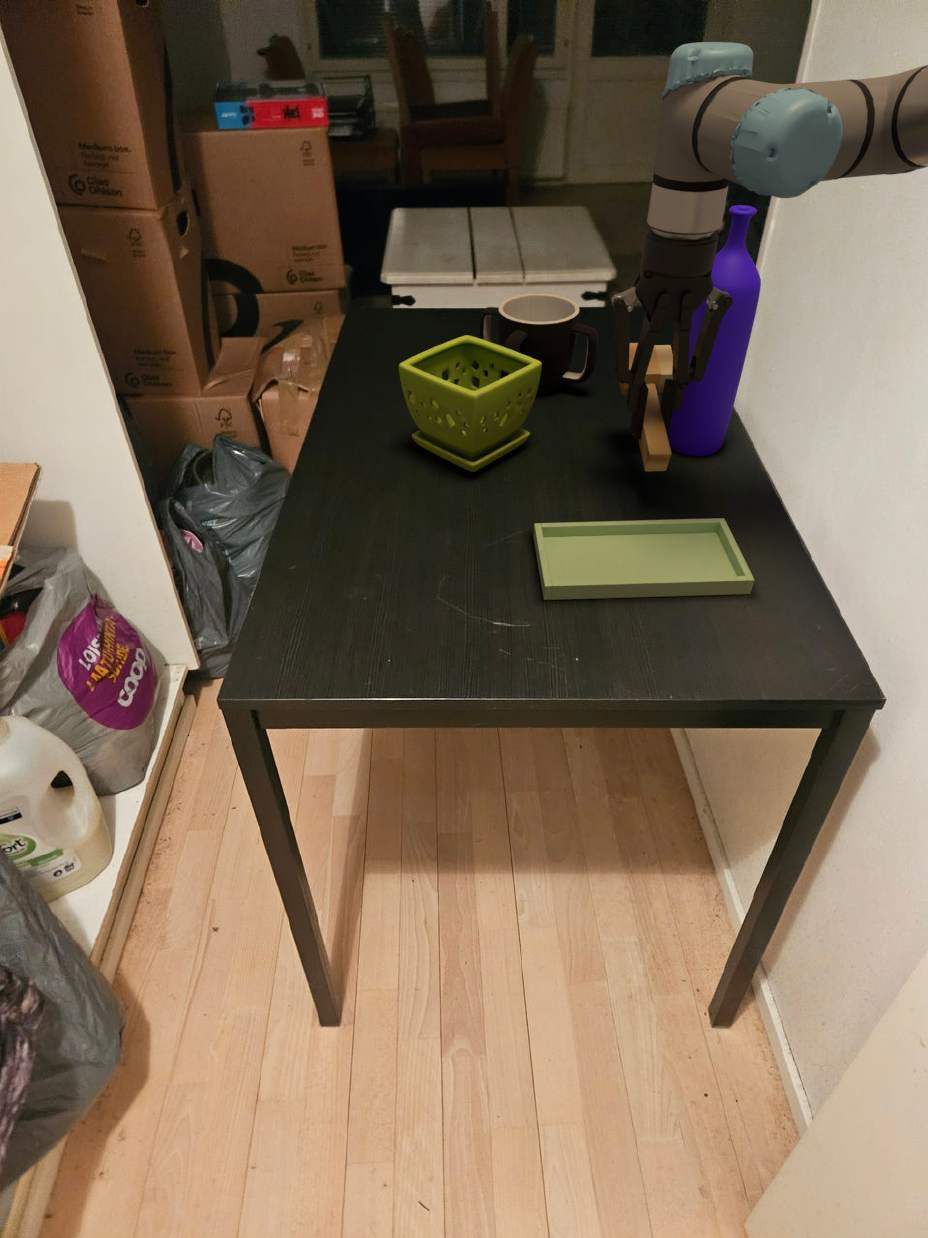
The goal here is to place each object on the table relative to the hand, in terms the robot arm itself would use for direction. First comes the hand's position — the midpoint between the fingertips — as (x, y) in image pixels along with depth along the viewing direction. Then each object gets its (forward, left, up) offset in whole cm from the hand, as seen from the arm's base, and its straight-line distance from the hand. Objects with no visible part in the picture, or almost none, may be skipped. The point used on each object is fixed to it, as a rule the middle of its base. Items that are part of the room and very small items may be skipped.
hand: (648, 433), depth 95 cm
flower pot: (+10, +22, -7) cm, 25 cm away
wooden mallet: (+4, -1, 0) cm, 4 cm away
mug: (+30, +11, -7) cm, 33 cm away
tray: (-17, +4, -7) cm, 19 cm away
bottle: (+10, -9, -7) cm, 16 cm away
